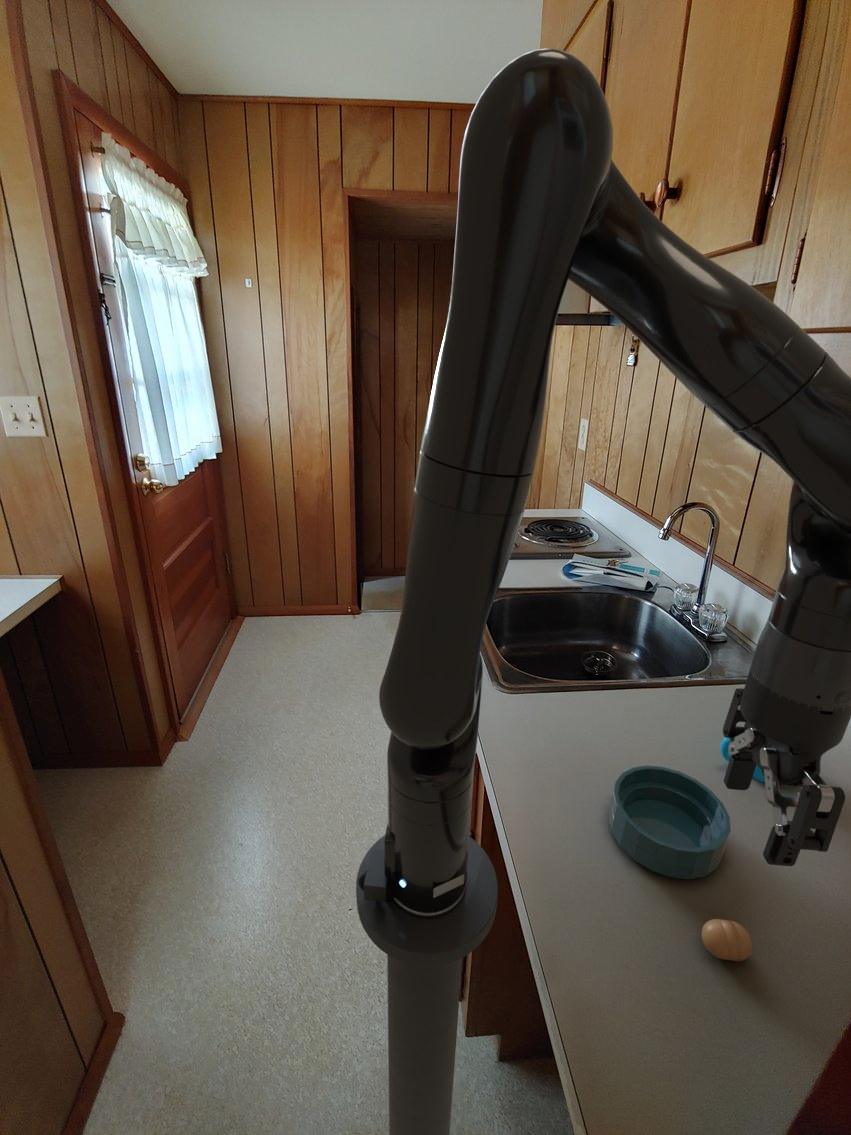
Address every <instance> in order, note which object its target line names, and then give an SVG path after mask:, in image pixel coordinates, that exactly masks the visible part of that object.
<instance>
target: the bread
mask: <svg viewBox="0 0 851 1135" xmlns="http://www.w3.org/2000/svg"><path fill="white" fill-rule="evenodd" d="M701 940H702V943H703V946H704V947H705V949H706V950H707V951H708V952H709V953H710V954H711V955H712V956H713V957H715V958H718V959H719V960H725V961H732V962H734V961H735V962H741V961H745V960H747V959H748V958H749V957H750V956H751V954H752V951H753V941H752V938H751V936H750V933H749V932H748V931H747V929H746V928H745V927H744V926H742V925H741V924H740V923H738V922H736V921H733V920H730V919H729V920H728V919H719V918H713V919H710V920H708V921H706V922H705V923H704V924H703V927H702V929H701Z"/></svg>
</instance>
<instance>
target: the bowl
mask: <svg viewBox="0 0 851 1135" xmlns="http://www.w3.org/2000/svg"><path fill="white" fill-rule="evenodd" d="M607 819H608V825H609V828H610V832H611V834H612V836H613V837H614V839H615V841H616V842H617V844H618V845H619V847H620V848H621V849H622V850H623V851H624V852H625V853H627V855H629V857H631V859H633V860H634V861H635V862H637V863H638V864H640V865H642V867H644V868H647V870H650V871H651V872H654V873H657V874H660V875H662V876H666V877H669V878H672V879H683V880H694V879H697V878H699V879H700V878H703V877H707V876H708V875H709V874H711V873H712V872H714V871H715V870H716V869H718V868H719V865H720V863H721V861H722V858H723V856H724V852H725V850H726V848H727V843H728V840H729V837H730V834H731V830H732V829H731V818H730V815H729V813H728V810H727V809H726V807H725V805H724V803H723V802H722V801H721V800H720V799H719V797H718V796H717V795H716V794H715V792H713V791H712V790H711V789H710V788H709V787H707V786H705V785H704V784H703V783H702V782H700V781H699V780H698V779H696V778H694V777H692V776H689V775H688V774H686V773H684V772H681V771H679V770H676V769H672V768H668V767H665V766H657V765H640V766H634V767H631V768H629V769H627V770H625V771H623V772H622V773H621V774H620V775H619V777H618V778H617V779H616V780H615V782H614V786H613V791H612V796H611V800H610V805H609V811H608V817H607Z"/></svg>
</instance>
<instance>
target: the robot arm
mask: <svg viewBox="0 0 851 1135" xmlns="http://www.w3.org/2000/svg"><path fill="white" fill-rule="evenodd" d="M470 114H471V115H470V116H469V120H468V123H467V125H466V129H465V132H464V135H463V142H462V145H461V146H462V147H461V153H460V163H459V178H458V196H457V198H458V199H457V212H456V214H457V215H456V228H455V242H454V254H453V269H452V282H451V289H450V291H451V292H450V301H449V306H448V313H447V320H446V325H445V330H444V333H443V334H444V335H443V339H442V342H441V347H440V351H439V355H438V359H437V363H436V367H435V373H434V377H433V382H432V388H431V391H430V397H429V402H428V408H427V414H426V418H425V423H424V429H423V434H422V438H421V443H420V444H421V445H420V450H419V456H418V462H417V467H416V473H415V474H416V475H415V480H414V487H413V493H412V502H411V503H412V504H411V514H410V521H409V529H408V539H407V540H408V541H407V548H406V549H407V550H406V561H405V573H404V574H405V575H404V587H403V598H402V604H401V605H402V606H401V611H400V616H399V620H398V625H397V629H396V633H395V637H394V640H393V645H392V647H391V652H390V654H389V658H388V662H387V665H386V668H385V672H384V675H383V676H382V679H381V683H380V685H379V692H378V701H379V702H378V703H379V709H380V711H381V715H382V718H383V720H384V722H385V724H386V726H387V728H388V729H389V730H390V735H389V741H388V745H387V751H386V752H387V754H386V768H387V769H386V770H387V824H386V829H385V833H384V835H385V838H384V850H376V849H372V850H371V855H370V859H369V864H368V868H367V871H365V873H363V874H362V875H361V876H360V877H359V880H358V883H359V886H360V888H361V889H362V890H363V891H364V900H369V901H378V902H386V901H391V902H394V903H395V904H396V905H397V906H398V907H399V908H400V909H401V910H402V911H404V912H405V913H407V914H409V915H411V916H414V917H417V918H422V919H433V918H438V917H442V916H444V915H447V914H448V913H450V912H451V911H453V910H454V909H455V908H456V907H457V906H458V905H459V904H460V902H461V901H462V899H463V897H464V895H465V892H466V886H467V861H468V847H469V837H470V831H471V830H470V828H471V818H472V802H473V789H474V788H473V787H474V775H475V764H476V763H475V761H476V754H477V746H478V737H479V726H480V724H479V723H480V714H481V700H482V690H483V689H482V688H483V674H484V673H483V672H484V671H483V670H484V668H483V666H484V665H483V659H482V655H481V651H482V650H481V649H482V643H483V639H484V633H485V629H486V627H487V626H486V625H487V622H488V619H489V615H490V613H491V610H492V607H493V605H494V601H495V599H496V597H497V594H498V592H499V589H500V586H501V584H502V581H503V578H504V576H505V574H506V570H507V567H508V564H509V561H510V559H511V555H512V553H513V550H514V546H515V542H516V540H517V537H518V534H519V530H520V526H521V524H522V521H523V517H524V514H525V510H526V507H527V503H528V498H529V495H530V491H531V486H532V482H533V478H534V474H535V470H536V466H537V462H538V456H539V451H540V446H541V440H542V434H543V427H544V421H545V412H546V405H547V396H548V395H547V394H548V384H549V382H548V381H549V373H550V360H551V353H552V352H551V351H552V345H553V344H552V343H553V336H554V333H555V328H556V322H557V319H558V314H559V310H560V306H561V303H562V300H563V296H564V293H565V290H566V288H567V284H568V280H569V281H570V282H572V283H573V284H575V286H577V287H579V289H581V290H583V291H584V292H585V293H587V294H588V295H589V296H590V297H592V298H593V299H594V300H595V301H596V302H598V303H599V304H600V305H601V306H603V308H605V309H606V310H607V311H608V312H610V313H611V314H612V315H613V316H614V317H615V318H616V319H618V320H619V322H621V323H622V324H623V325H624V326H625V327H626V328H627V329H628V330H629V331H630V332H631V333H632V334H633V335H634V336H635V337H636V338H637V339H638V340H639V341H640V342H641V343H642V344H643V345H644V346H645V347H646V348H647V349H648V350H649V351H650V352H651V353H652V354H653V355H654V356H655V357H656V358H657V359H658V360H659V361H660V363H662V365H663V366H665V368H666V369H667V370H668V371H669V373H671V374H672V375H673V376H674V377H675V378H676V379H677V380H678V381H679V382H680V383H681V384H682V385H683V386H684V387H685V388H686V389H687V390H688V391H689V392H690V393H691V395H693V396H694V397H695V398H696V399H698V400H699V402H701V404H703V405H704V406H705V407H706V408H707V409H708V410H709V411H710V412H711V413H712V414H713V415H714V416H715V417H716V418H718V419H719V420H720V421H721V422H722V423H723V424H724V425H725V426H726V427H727V428H729V429H730V430H731V431H732V432H733V433H734V434H735V435H737V437H739V438H740V439H741V440H742V441H743V442H745V443H746V444H748V445H750V447H753V448H754V449H755V450H757V451H758V452H760V453H762V454H763V455H765V456H766V457H768V458H769V459H771V460H772V461H773V462H774V463H775V464H777V466H779V467H780V468H781V470H783V472H784V473H785V474H786V475H787V476H788V477H789V478H790V479H792V486H791V490H790V496H789V503H788V513H787V524H786V533H785V534H786V535H785V557H784V558H785V560H784V567H783V570H782V573H781V576H780V578H779V581H778V584H777V588H776V591H775V594H774V598H773V601H772V605H771V608H770V612H769V615H768V618H767V621H766V623H765V624H764V627H763V629H762V630H761V633H760V635H759V638H758V640H757V643H756V647H755V650H754V653H753V657H752V660H751V663H750V668H749V671H748V673H747V674H748V675H747V678H746V681H745V684H744V688H741V687H737V688H735V690H734V693H733V696H732V699H731V701H730V705H729V708H728V711H727V713H726V714H727V715H726V717H725V720H724V723H723V727H722V734H723V738H730V741H731V742H730V743H729V746H728V749H729V751H728V753H729V755H730V756H731V757H730V760H729V762H728V764H727V768H726V771H725V775H724V777H723V783H724V784H725V787H726V788H727V789H728V790H734V791H735V790H736V791H746V790H749V788H750V786H751V783H752V780H753V774H754V771H755V768H756V765H757V766H758V767H759V768H760V769H761V771H762V774H763V776H764V778H765V783H764V787H765V799H766V801H767V802H768V803H769V804H770V805H771V806H772V811H773V812H772V813H773V823H774V824H773V826H772V827H771V829H770V833H769V834H768V835H769V836H768V838H767V841H766V844H765V846H764V849H763V852H762V856H763V858H764V860H765V862H766V863H767V864H768V865H771V866H780V867H781V866H783V867H793V866H795V864H796V862H797V860H798V858H799V855H800V853H801V850H804V851H816V852H822V853H827V852H828V851H829V848H830V845H831V842H832V839H833V837H834V834H835V830H836V828H837V824H838V822H839V819H840V816H841V813H842V810H843V807H844V804H845V801H846V794H845V792H844V790H843V788H841V786H833V785H828V784H827V783H826V781H825V780H824V779H823V778H822V776H821V762H822V761H821V760H822V756H823V755H824V754H825V753H827V752H829V751H830V750H832V749H834V748H835V747H837V746H838V745H839V744H840V743H841V742H842V741H843V739H844V736H845V734H846V731H847V728H848V725H849V723H850V720H851V376H850V375H848V374H847V373H846V371H844V370H843V368H841V367H840V365H839V364H838V363H837V362H836V360H835V359H834V358H833V357H832V356H831V355H830V354H829V353H828V352H827V351H826V350H825V349H824V348H823V347H822V346H821V345H820V344H819V343H817V341H816V340H814V338H812V337H811V336H810V335H809V334H808V333H807V332H806V330H804V329H803V328H802V327H801V326H800V325H799V324H797V323H796V321H794V319H793V318H792V317H790V316H789V315H788V314H787V313H786V312H785V311H784V310H783V309H782V308H780V307H779V306H778V305H777V304H776V303H775V302H773V301H772V300H771V299H769V298H768V297H767V296H766V295H765V294H763V293H762V292H760V291H758V290H757V289H756V288H755V287H753V286H752V285H750V284H749V283H747V282H746V281H744V280H743V279H741V278H740V277H739V276H737V275H736V274H734V273H732V272H731V271H729V270H727V269H726V268H724V267H723V266H722V265H720V264H718V263H717V262H715V261H713V260H712V259H711V258H709V257H707V256H706V255H705V254H703V253H702V252H700V251H698V250H697V249H696V248H695V247H693V246H692V245H691V244H689V243H688V242H686V241H685V240H684V239H683V238H681V237H680V236H679V235H677V233H675V232H674V231H673V230H672V229H670V228H669V227H668V225H666V224H665V223H664V222H663V221H662V220H661V219H660V218H659V217H658V216H657V215H656V214H655V213H654V212H653V211H652V210H651V209H650V208H649V207H648V206H647V205H646V204H645V202H644V201H643V200H642V198H641V197H640V196H639V195H638V194H637V193H636V191H635V190H634V188H633V187H632V186H631V184H630V183H629V182H628V180H627V179H626V178H625V177H624V174H622V172H621V170H619V168H618V167H617V165H616V163H615V162H614V161H613V159H612V158H613V157H612V156H613V151H614V127H613V122H612V116H611V111H610V107H609V104H608V101H607V98H606V96H605V93H604V91H603V89H602V87H601V84H600V83H599V82H598V80H597V78H596V77H595V76H594V74H593V73H592V71H591V70H590V69H589V67H588V66H587V65H586V64H584V62H583V61H581V60H580V59H579V58H577V57H576V56H574V55H573V54H571V53H569V52H566V51H564V50H560V49H556V48H540V49H534V50H532V51H529V52H526V53H523V54H522V55H519V56H517V57H516V58H515V59H513V60H511V61H510V62H509V63H508V64H506V65H505V66H504V67H503V68H502V69H501V70H500V71H498V72H497V74H496V75H495V76H494V77H493V78H492V79H491V81H489V83H488V85H487V86H486V87H485V89H484V90H483V91H482V93H481V94H480V96H479V98H478V100H477V102H476V104H475V106H474V108H473V110H472V112H471V113H470ZM738 723H744V724H743V726H744V727H742V726H739V725H737V724H738ZM798 787H800V791H797V792H796V794H795V795H784V794H783V795H782V793H781V791H780V788H790V789H794V788H798ZM788 808H795V810H794V813H793V815H792V816H793V817H792V819H791V820H788Z"/></svg>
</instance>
